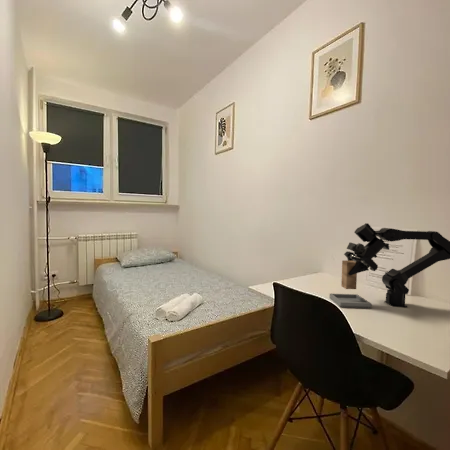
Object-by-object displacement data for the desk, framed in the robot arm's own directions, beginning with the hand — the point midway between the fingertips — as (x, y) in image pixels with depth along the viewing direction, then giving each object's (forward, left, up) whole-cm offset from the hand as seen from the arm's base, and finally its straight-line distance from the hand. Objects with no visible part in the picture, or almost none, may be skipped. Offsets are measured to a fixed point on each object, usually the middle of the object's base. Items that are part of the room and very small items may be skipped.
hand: (346, 273), depth 114 cm
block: (-1, 0, -7) cm, 7 cm away
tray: (-1, +1, -13) cm, 13 cm away
